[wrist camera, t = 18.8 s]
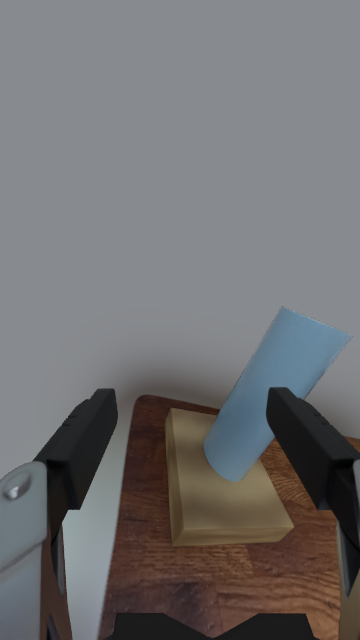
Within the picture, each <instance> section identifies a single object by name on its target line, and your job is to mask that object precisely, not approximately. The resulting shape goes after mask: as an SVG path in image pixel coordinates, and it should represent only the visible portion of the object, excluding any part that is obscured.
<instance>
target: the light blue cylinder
mask: <svg viewBox="0 0 360 640" xmlns="http://www.w3.org/2000/svg"><path fill="white" fill-rule="evenodd" d="M352 337H353V336H352V335H350V334H348V333H346V332H344V331H341V330H339V329H337V328H334V327H332V326H330V325H327V324H325V323H322V322H320V321H318V320H315V319H313V318H310V317H308V316H306V315H303V314H300V313H298V312H296V311H293V310H291V309H288V308H285V307H281V308H280V309H279V311H278V313H277V315H276V316H275V318H274V320H273V321H272V323H271V325H270V327H269V328H268V330H267V332H266V333H265V335H264V337H263V338H262V340H261V342H260V344H259V345H258V347H257V349H256V351H255V352H254V354H253V356H252V357H251V359H250V361H249V362H248V364H247V366H246V368H245V369H244V371H243V373H242V374H241V376H240V378H239V379H238V381H237V383H236V384H235V386H234V388H233V390H232V391H231V393H230V395H229V397H228V398H227V400H226V401H225V403H224V405H223V407H222V408H221V410H220V412H219V413H218V415H217V417H216V419H215V420H214V422H213V424H212V425H211V427H210V429H209V430H208V432H207V434H206V436H205V438H204V441H203V448H204V453H205V456H206V458H207V460H208V462H209V464H210V465H211V467H212V468H213V469H214V470H215V471H216V472H217V473H218V474H219V475H220V476H221V477H223V478H224V479H226V480H229V481H232V482H238V481H241V480H243V479H244V477H245V476H246V475H247V474H248V472H249V471H250V470H251V468H252V467H253V466H254V464H255V463H256V462H257V461H258V459H259V458H260V457H261V455H262V454H263V453H264V451H265V450H266V449H267V448H268V446H269V445H270V444H271V442H272V441H273V440H274V438H275V436H274V434H273V432H272V430H271V429H270V427H269V425H268V423H267V419H266V406H267V398H268V391H269V388H270V387H287V388H288V389H289V390H290V391H291V392H292V393H293V394H294V395H295V396H296V397H297V398H301V399H303V400H304V399H305V398H306V397H307V395H308V394H309V393H310V391H311V390H312V389H313V387H314V386H315V385H316V384H317V382H318V381H319V380H320V378H321V377H322V376H323V375H324V373H325V372H326V371H327V369H328V368H329V367H330V365H331V364H332V363H333V361H334V360H335V359H336V358H337V356H338V355H339V354H340V352H341V351H342V350H343V348H344V347H345V346H346V345H347V343H348V342H349V341H350V339H351V338H352Z"/></svg>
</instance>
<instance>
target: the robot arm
mask: <svg viewBox="0 0 360 640" xmlns="http://www.w3.org/2000/svg"><path fill="white" fill-rule="evenodd" d="M117 418H118V411H117V403H116V396H115V390H114V389H97V391H96V392H95V393H94V394H93V396H92V397H91V399H86V400H85V401H83V402H82V403H81V404H79V405H78V406H76V407H75V409H74V410H73V411H72V412H71V414H70V415H69V416H68V418H67V419H66V420H65V421H64V422H63V424H62V426H60V427H59V429H58V430H57V431H56V432H55V434H54V435H53V436H52V437H51V438H50V440H49V441H48V442H47V444H46V445H45V446H44V447H43V448H42V450H41V451H40V452H39V453H38V455H37V456H36V457H35V458H34V460H33V461H32V462H29V463H26V464H24V465H21V466H19V467H18V468H15V469H14V470H12V471H11V472H9V473H8V474H7V475H5V476H4V477H3V478H2V479H1V480H0V640H72V631H71V624H70V618H69V612H68V604H67V591H66V575H65V560H64V545H63V529H62V521H63V520H64V517H65V515H66V513H67V511H68V510H80V508H81V506H82V503H83V501H84V499H85V496H86V494H87V492H88V489H89V487H90V485H91V483H92V480H93V478H94V476H95V473H96V471H97V469H98V466H99V464H100V462H101V459H102V457H103V455H104V453H105V450H106V448H107V445H108V443H109V441H110V439H111V436H112V434H113V432H114V429H115V427H116V424H117ZM266 419H267V423H268V425H269V427H270V429H271V430H272V432H273V434H274V436H275V437H276V439H277V441H278V442H279V444H280V446H281V448H282V449H283V451H284V453H285V455H286V456H287V458H288V460H289V461H290V463H291V465H292V467H293V468H294V470H295V472H296V473H297V475H298V477H299V479H300V480H301V482H302V484H303V485H304V487H305V489H306V491H307V492H308V494H309V496H310V497H311V499H312V501H313V503H314V504H315V506H316V508H317V509H318V510H332V512H333V513H334V515H335V517H336V518H337V521H336V540H337V554H338V569H339V583H340V598H341V609H340V620H339V636H338V640H360V453H359V452H358V451H357V450H356V449H355V448H354V447H353V446H352V445H351V444H350V443H349V442H348V441H347V440H346V439H345V438H344V437H343V436H342V435H341V434H340V433H339V432H338V431H337V430H336V429H335V428H334V427H333V426H332V425H330V424H329V422H328V421H327V420H326V419H325V418H324V417H323V416H321V414H320V413H319V412H318V411H317V410H316V409H315V408H314V407H313V406H312V405H310V404H309V403H307V402H306V401H304V400H303V399H301V398H297V397H296V396H295V395H294V394H293V393H292V392H291V391H290V390H289V389H288V388H287V387H270V388H269V391H268V398H267V406H266ZM104 640H319V639H318V638H316V637H314V636H313V633H312V630H311V627H310V625H309V622H308V619H307V616H306V614H298V613H259V614H257V615H255V616H253V617H252V618H250V619H248V620H246V621H245V622H243V623H241V624H239V625H237V626H236V627H234V628H232V629H230V630H229V631H227V632H225V633H223V634H222V635H220V636H218V637H215V638H210V637H207V636H205V635H204V634H202V633H200V632H198V631H196V630H194V629H192V628H190V627H188V626H186V625H184V624H183V623H181V622H179V621H177V620H175V619H173V618H171V617H169V616H167V615H165V614H163V613H117V616H116V621H115V626H114V632H113V634H112V635H110V636H108V637H106V638H105V639H104Z"/></svg>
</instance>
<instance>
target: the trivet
mask: <svg viewBox="0 0 360 640" xmlns="http://www.w3.org/2000/svg"><path fill="white" fill-rule="evenodd" d="M216 417H217V415H211V414H205V413H199V412H193V411H187V410H181V409H176V408H171V409H170V411H169V413H168V416H167V418H166V420H165V422H164V423H165V439H166V456H167V473H168V489H169V506H170V523H171V539H172V546H173V547H175V546H197V545H219V544H240V543H262V542H279V541H280V540H281V539H282V538H283V537H284V536H285V535H286V534H287V533H288V532H289V531H290V530H291V529H293V528H294V525H293V523H292V521H291V520H290V518H289V516H288V514H287V512H286V510H285V508H284V506H283V504H282V502H281V500H280V498H279V496H278V494H277V492H276V490H275V488H274V486H273V484H272V482H271V480H270V478H269V476H268V474H267V472H266V470H265V468H264V466H263V464H262V462H261V460H260V458H259V459H258V461H257V462H256V463H255V464H254V466H253V467H252V468H251V470H250V471H249V472H248V474H247V475H246V476H245V477H244V479H243V480H241V481H238V482H232V481H229V480H226V479H224V478H223V477H221V476H220V475H219V474H218V473H217V472H216V471H215V470H214V469H213V468H212V467H211V465H210V464H209V462H208V460H207V458H206V456H205V453H204V448H203V441H204V438H205V436H206V434H207V432H208V430H209V429H210V427H211V425H212V424H213V422H214V420H215V419H216Z"/></svg>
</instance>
